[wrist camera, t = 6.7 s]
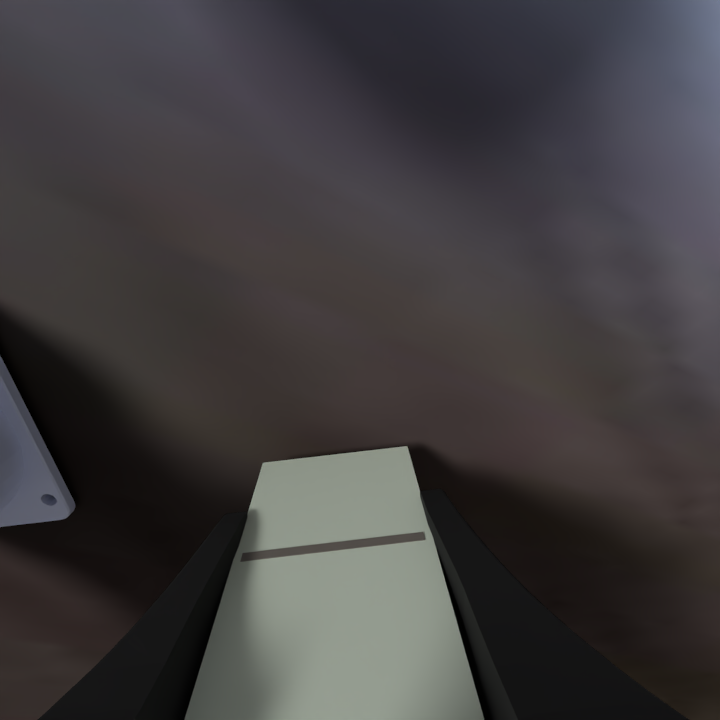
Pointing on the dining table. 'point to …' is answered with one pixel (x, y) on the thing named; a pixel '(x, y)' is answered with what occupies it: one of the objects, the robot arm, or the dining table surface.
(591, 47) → the dining table surface
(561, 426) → the dining table surface
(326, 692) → the domino
